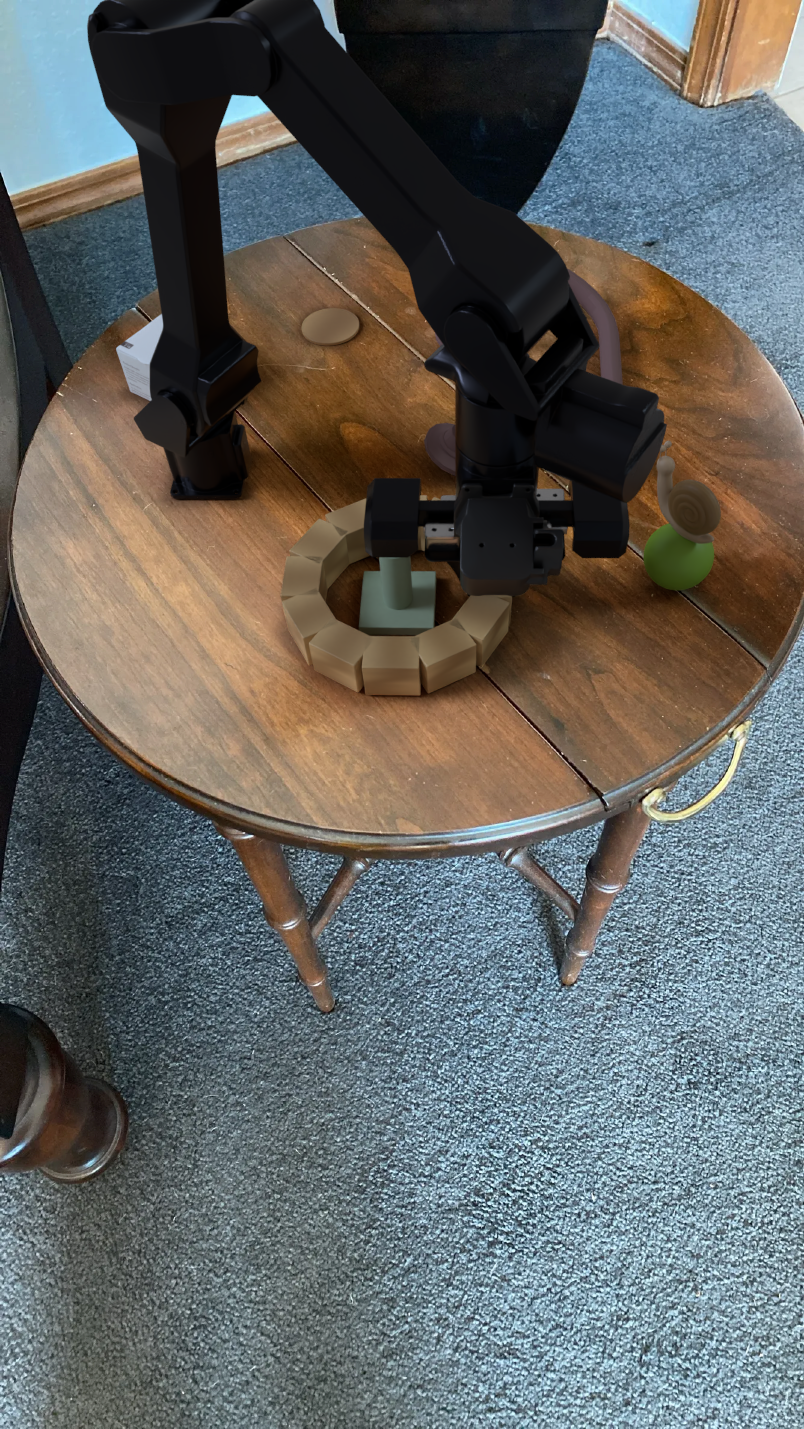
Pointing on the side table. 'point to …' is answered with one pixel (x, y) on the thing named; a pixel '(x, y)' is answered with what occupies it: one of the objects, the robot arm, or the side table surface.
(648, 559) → the snail figurine
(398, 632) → the peg stand
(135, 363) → the small box
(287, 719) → the side table surface
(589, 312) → the toilet paper hanger
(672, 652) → the side table surface
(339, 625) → the birch ring
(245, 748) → the side table surface
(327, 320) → the cork coaster
